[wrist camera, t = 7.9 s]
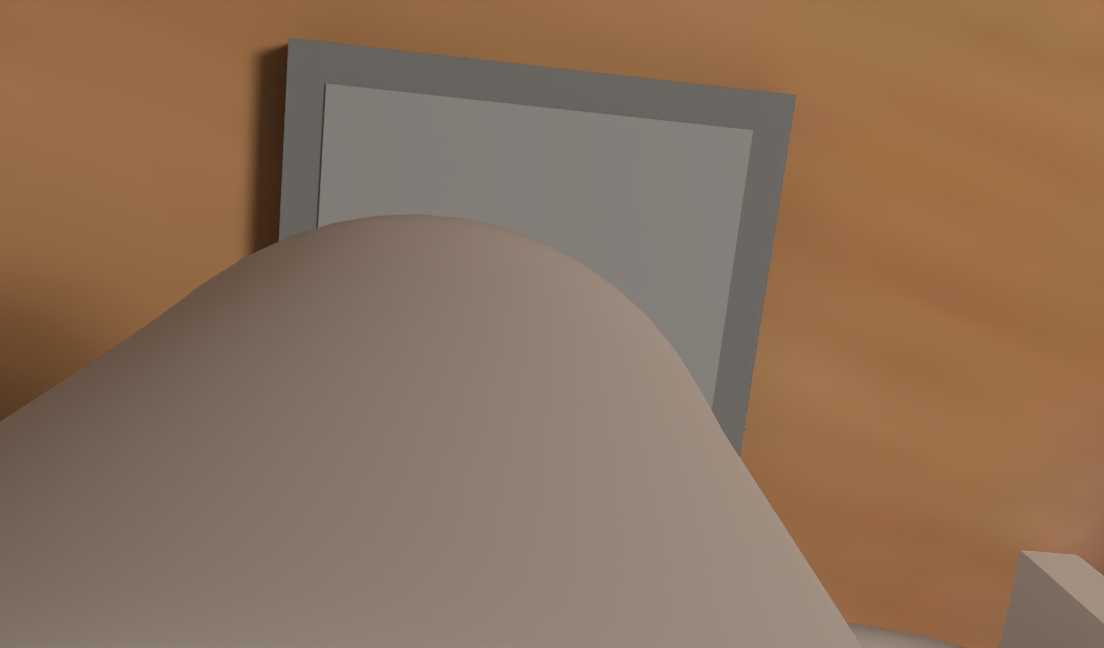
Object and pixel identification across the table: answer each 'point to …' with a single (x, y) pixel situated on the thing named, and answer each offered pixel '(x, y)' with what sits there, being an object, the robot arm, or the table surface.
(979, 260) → the table surface
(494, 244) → the mug
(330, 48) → the coaster
